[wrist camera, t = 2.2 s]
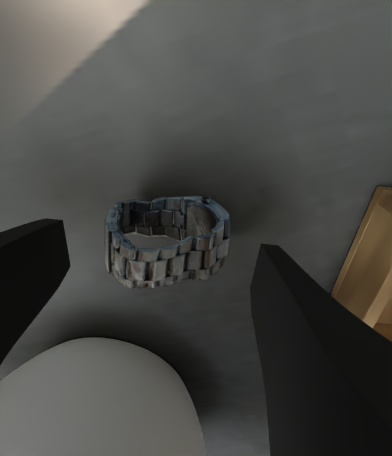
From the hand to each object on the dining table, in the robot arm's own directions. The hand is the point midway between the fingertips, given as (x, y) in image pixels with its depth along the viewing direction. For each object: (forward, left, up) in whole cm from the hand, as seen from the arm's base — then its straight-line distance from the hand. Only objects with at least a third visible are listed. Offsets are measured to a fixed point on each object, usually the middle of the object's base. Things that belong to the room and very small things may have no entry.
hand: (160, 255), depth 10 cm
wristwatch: (0, 0, -4) cm, 4 cm away
